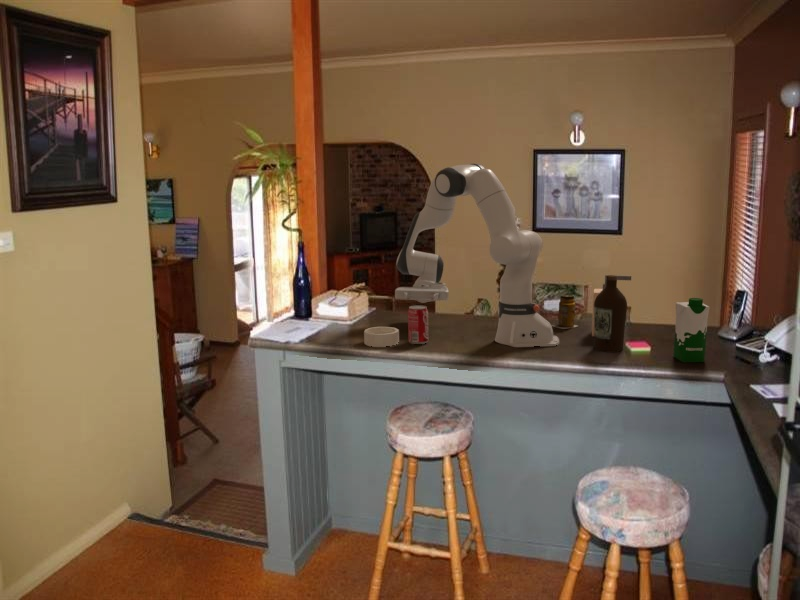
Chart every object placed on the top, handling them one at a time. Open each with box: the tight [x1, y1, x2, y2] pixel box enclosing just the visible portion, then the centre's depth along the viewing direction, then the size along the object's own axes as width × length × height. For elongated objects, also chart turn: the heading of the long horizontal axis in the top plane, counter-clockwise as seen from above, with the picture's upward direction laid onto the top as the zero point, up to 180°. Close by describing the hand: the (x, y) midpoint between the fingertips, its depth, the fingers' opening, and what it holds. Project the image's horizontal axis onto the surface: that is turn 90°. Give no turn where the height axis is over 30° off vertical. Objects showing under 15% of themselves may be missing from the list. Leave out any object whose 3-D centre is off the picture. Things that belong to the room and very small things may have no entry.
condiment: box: [551, 294, 578, 330], centre depth 273 cm, size 7×8×12 cm
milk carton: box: [673, 297, 711, 363], centre depth 224 cm, size 9×9×20 cm
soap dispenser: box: [591, 274, 632, 337], centre depth 257 cm, size 13×9×22 cm
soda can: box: [407, 304, 430, 345], centre depth 250 cm, size 7×7×13 cm
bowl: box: [363, 326, 400, 348], centre depth 251 cm, size 12×12×4 cm
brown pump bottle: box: [593, 274, 628, 353], centre depth 238 cm, size 11×11×25 cm
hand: (420, 297), depth 260 cm, fingers open, 8 cm apart
